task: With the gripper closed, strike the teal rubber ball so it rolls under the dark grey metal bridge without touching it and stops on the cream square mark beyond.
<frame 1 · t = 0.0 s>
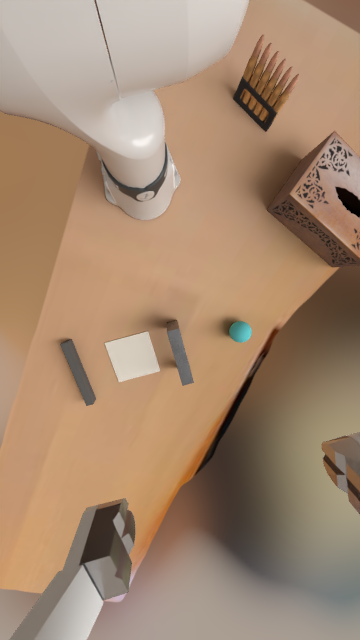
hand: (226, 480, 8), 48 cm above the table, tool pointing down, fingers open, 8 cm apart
stopper: (81, 371, 57), on the table
ammunition clip: (251, 112, 46), on the table
ball: (240, 331, 54), on the table
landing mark: (133, 357, 57), on the table
tissue box cover: (316, 217, 52), on the table
bridge: (178, 344, 57), on the table
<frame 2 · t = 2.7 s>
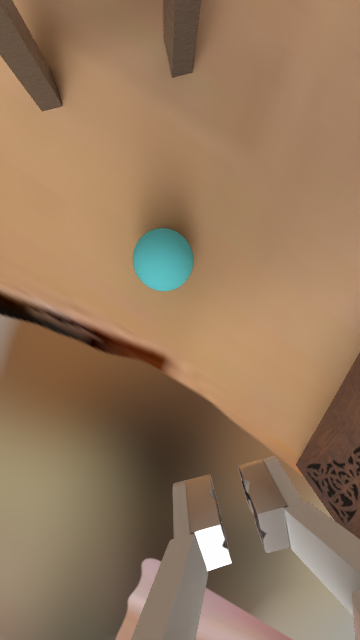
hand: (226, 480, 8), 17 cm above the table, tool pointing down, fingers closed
ball: (163, 261, 19), on the table
bridge: (112, 72, 18), on the table
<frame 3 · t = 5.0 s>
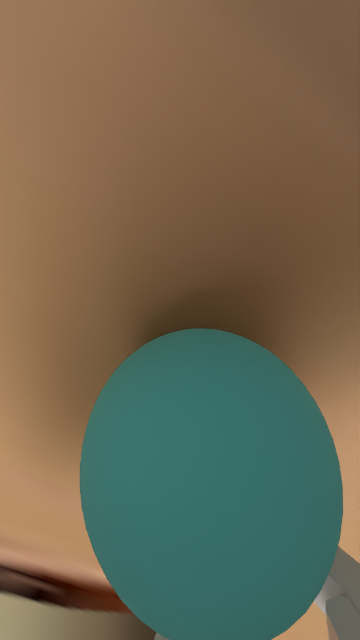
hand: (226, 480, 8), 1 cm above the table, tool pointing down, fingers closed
ball: (201, 436, 5), on the table, touching gripper
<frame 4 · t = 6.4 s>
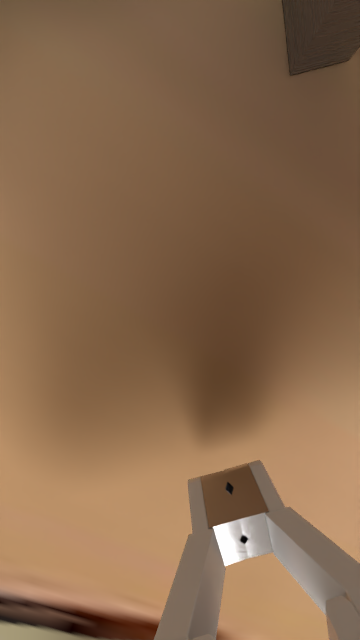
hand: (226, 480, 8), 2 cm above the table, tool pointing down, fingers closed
bridge: (112, 60, 6), on the table
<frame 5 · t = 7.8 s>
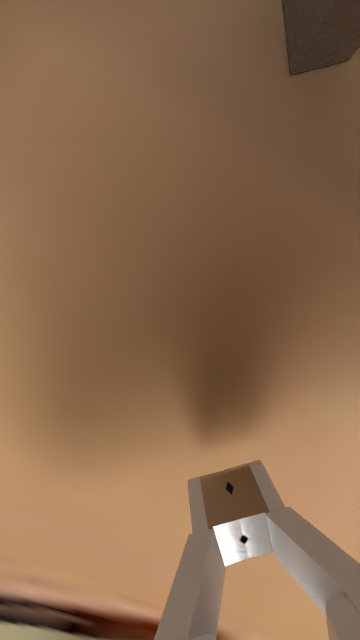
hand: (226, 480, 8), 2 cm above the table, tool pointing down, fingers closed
bridge: (112, 60, 6), on the table
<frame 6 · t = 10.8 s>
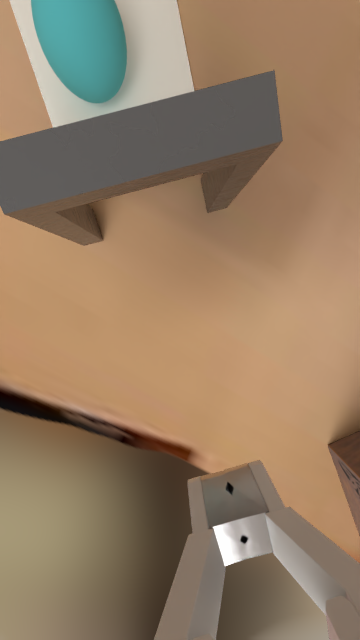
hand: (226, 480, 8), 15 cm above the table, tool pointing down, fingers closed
ball: (83, 40, 14), on the table
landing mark: (103, 32, 16), on the table
bridge: (151, 210, 19), on the table
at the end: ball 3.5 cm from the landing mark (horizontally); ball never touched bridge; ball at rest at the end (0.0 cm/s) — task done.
